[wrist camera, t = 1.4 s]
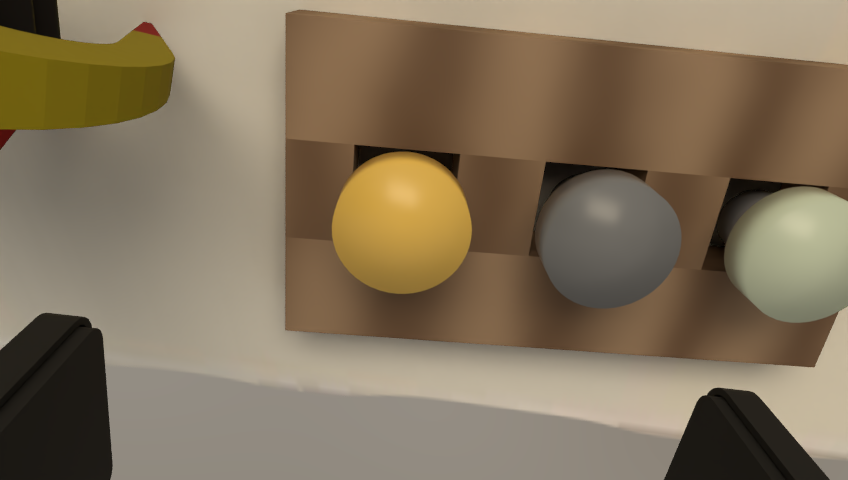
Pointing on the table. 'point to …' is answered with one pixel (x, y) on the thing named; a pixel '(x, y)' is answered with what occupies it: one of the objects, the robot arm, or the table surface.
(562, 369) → the table surface
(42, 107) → the toy rocket
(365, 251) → the button amber
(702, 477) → the robot arm
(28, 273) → the table surface
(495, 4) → the table surface
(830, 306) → the button sage
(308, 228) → the console
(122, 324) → the table surface
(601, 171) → the grey rounded lump
